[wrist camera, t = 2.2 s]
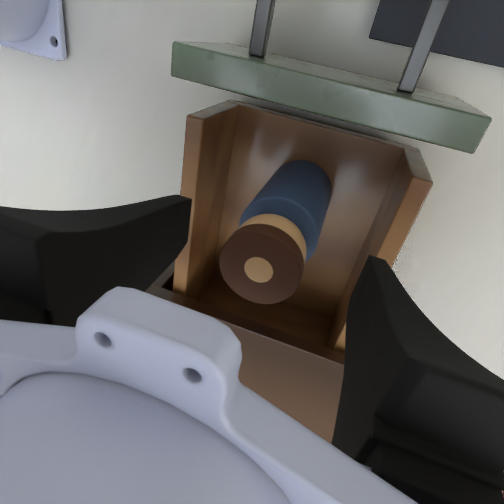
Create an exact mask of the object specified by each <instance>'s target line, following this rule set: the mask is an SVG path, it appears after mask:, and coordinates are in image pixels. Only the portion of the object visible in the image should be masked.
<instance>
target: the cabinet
mask: <svg viewBox="0 0 504 504" xmlns="http://www.w3.org/2000/svg"><path fill="white" fill-rule="evenodd" d="M174 268H175V261H174V262H173V263H172V264H171V265H170V266H169V267H168V268H167V269H166V270H165V271H164V272H163V273H162V274H161V275H160V276H159V277H158V279H157V280H156V281H155V282H154V283H153V284H152V285H151V286H150V287H149V288H148V289H147V290H146V291H145V293H148V294H151V295H153V296H156V297H159V298H161V299H164V300H167V301H170V302H172V303H175V304H178V305H181V306H183V307H186V308H189V309H191V310H194V311H197V312H200V313H202V314H205V315H208V316H210V317H213V318H215V319H216V320H218V321H220V322H221V323H223V324H225V325H226V326H228V327H229V328H230V329H231V330H232V332H233V333H234V334H235V336H236V337H237V338H238V340H239V341H240V342H241V351H242V360H241V364H240V368H239V375H238V378H239V381H240V382H241V383H242V384H243V385H245V386H246V387H248V388H249V389H251V390H252V391H254V392H255V393H257V394H258V395H260V396H261V397H262V398H264V399H265V400H267V401H268V402H270V403H271V404H273V405H274V406H276V407H277V408H279V409H280V410H282V411H283V412H285V413H286V414H287V415H289V416H290V417H292V418H293V419H295V420H296V421H298V422H299V423H301V424H302V425H304V426H305V427H307V428H308V429H309V430H311V431H312V432H314V433H315V434H317V435H318V436H320V437H321V438H323V439H324V440H326V441H327V442H329V443H330V444H331V443H332V438H333V433H334V427H335V422H336V417H337V411H338V405H339V400H340V393H341V387H342V381H343V374H344V360H345V354H344V353H342V352H339V351H336V350H333V349H330V348H328V347H325V346H322V345H319V344H317V343H314V342H311V341H308V340H306V339H303V338H300V337H297V336H294V335H292V334H289V333H286V332H283V331H281V330H278V329H275V328H272V327H269V326H267V325H264V324H261V323H258V322H256V321H253V320H250V319H247V318H244V317H242V316H239V315H236V314H233V313H231V312H228V311H225V310H222V309H219V308H217V307H214V306H211V305H208V304H206V303H203V302H200V301H197V300H194V299H192V298H189V297H186V296H183V295H181V294H178V293H175V292H173V281H174Z"/></svg>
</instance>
